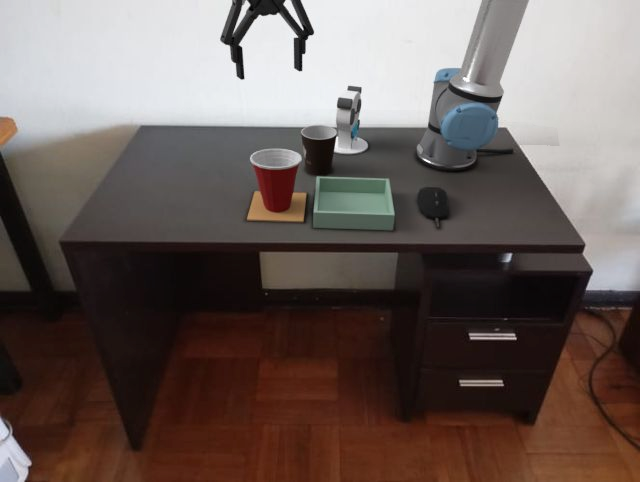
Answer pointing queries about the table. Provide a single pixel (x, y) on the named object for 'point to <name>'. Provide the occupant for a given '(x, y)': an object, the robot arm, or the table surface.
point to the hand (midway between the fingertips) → (270, 73)
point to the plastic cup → (276, 176)
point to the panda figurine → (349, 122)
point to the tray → (353, 203)
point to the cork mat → (290, 215)
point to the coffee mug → (318, 148)
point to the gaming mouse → (433, 202)
